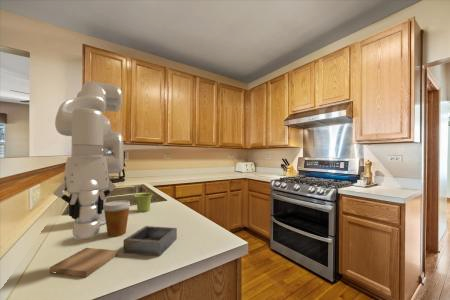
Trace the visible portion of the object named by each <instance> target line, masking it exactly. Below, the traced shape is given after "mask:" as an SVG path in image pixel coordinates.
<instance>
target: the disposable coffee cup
mask: <svg viewBox="0 0 450 300" xmlns="http://www.w3.org/2000/svg"><path fill="white" fill-rule="evenodd" d="M130 208H131V204H130V201H129V200H125V199H124V200H112V201H108V202H106V203H105V204H104V207H103V209H104V211H105V219H106V223H105V225H106V232H107V237H110V238H115V237H120V236H123V235H125V234H126V233H127V227H128V226H127V225H128V220H129V219H128V218H129V212H130Z"/></svg>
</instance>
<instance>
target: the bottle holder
mask: <svg viewBox="0 0 450 300" xmlns="http://www.w3.org/2000/svg"><path fill="white" fill-rule="evenodd" d="M177 228H178V227H169V226H168V227H166V226H153V225H145V226H144V227H142V228H140V229H139V230H137V231H136V232H134V233H132V234H131V235H129V236H127V237H126V238H124V239H123V254H133V255H141V256H142V255H144V256H145V255H146V256H155V257H156V256H157V257H161V256H162V255H163V254H164V253H165V252H166V251H167V249H168V248H170V247H171V246H172V245H173V243H174V242H175V241H176V240H177V239H178V236H177V235H178V231H177ZM152 239H153V240H152Z"/></svg>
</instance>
